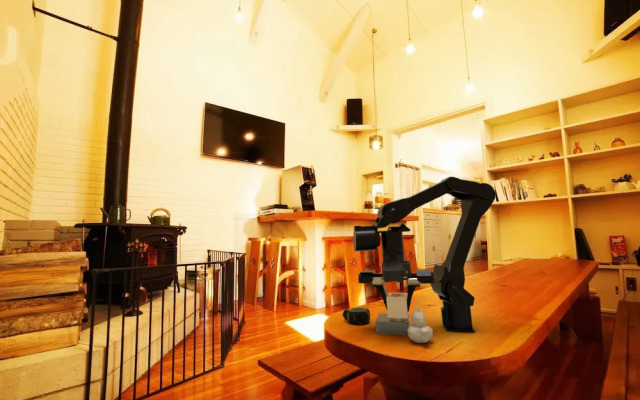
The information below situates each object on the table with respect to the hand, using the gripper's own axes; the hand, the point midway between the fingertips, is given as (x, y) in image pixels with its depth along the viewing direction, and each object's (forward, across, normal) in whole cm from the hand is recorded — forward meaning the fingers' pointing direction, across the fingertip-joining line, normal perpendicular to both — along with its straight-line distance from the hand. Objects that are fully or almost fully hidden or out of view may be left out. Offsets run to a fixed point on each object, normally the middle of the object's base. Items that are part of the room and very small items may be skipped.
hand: (397, 310), depth 73 cm
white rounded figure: (+5, +5, -7) cm, 10 cm away
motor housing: (+5, -2, +1) cm, 5 cm away
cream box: (+1, 0, 0) cm, 1 cm away
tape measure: (+5, -12, +7) cm, 15 cm away
